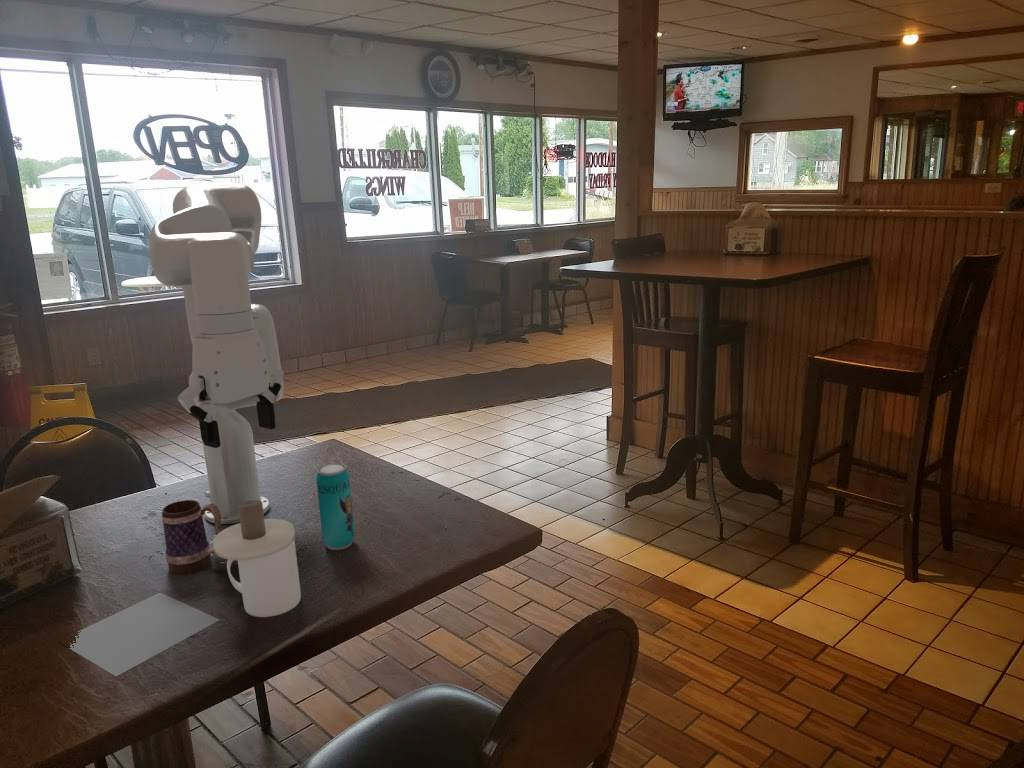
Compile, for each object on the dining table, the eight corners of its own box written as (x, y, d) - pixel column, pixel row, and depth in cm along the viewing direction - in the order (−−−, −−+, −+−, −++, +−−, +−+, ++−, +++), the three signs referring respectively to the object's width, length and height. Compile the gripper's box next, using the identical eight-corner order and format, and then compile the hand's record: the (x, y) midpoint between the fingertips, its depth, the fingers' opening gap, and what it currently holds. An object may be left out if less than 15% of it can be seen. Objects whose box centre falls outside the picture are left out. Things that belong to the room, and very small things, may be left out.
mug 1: (160, 577, 127) (149, 512, 125) (182, 558, 134) (173, 496, 131) (216, 579, 126) (206, 513, 123) (236, 559, 133) (227, 496, 130)
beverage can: (347, 552, 134) (339, 474, 130) (318, 550, 135) (309, 473, 131) (360, 538, 139) (353, 463, 136) (331, 537, 140) (324, 462, 137)
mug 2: (249, 586, 123) (241, 526, 121) (312, 595, 120) (305, 534, 117) (214, 613, 115) (205, 550, 113) (280, 624, 112) (272, 559, 109)
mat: (58, 644, 109) (57, 641, 108) (160, 595, 121) (160, 592, 121) (116, 680, 100) (116, 676, 100) (220, 623, 113) (220, 619, 112)
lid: (197, 548, 114) (191, 510, 112) (262, 519, 123) (257, 484, 122) (246, 567, 107) (241, 527, 106) (311, 535, 117) (307, 498, 115)
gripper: (259, 313, 116) (271, 418, 120) (154, 331, 102) (172, 449, 106) (291, 316, 112) (303, 424, 116) (186, 336, 98) (204, 458, 102)
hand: (240, 436), depth 111 cm, fingers open, 9 cm apart
